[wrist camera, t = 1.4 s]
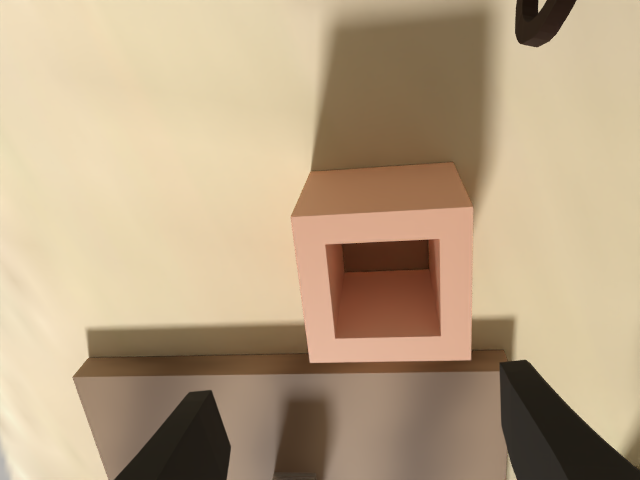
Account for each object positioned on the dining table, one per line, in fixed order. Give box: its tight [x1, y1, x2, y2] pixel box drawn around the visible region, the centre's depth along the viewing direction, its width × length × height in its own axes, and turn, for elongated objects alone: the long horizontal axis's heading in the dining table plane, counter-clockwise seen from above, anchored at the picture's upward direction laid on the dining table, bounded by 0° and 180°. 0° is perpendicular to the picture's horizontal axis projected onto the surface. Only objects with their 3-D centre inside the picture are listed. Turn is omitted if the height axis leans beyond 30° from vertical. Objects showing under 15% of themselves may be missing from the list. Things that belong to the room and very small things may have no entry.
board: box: [73, 350, 508, 480], centre depth 27 cm, size 20×14×2 cm
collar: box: [291, 162, 473, 363], centre depth 20 cm, size 6×6×5 cm
